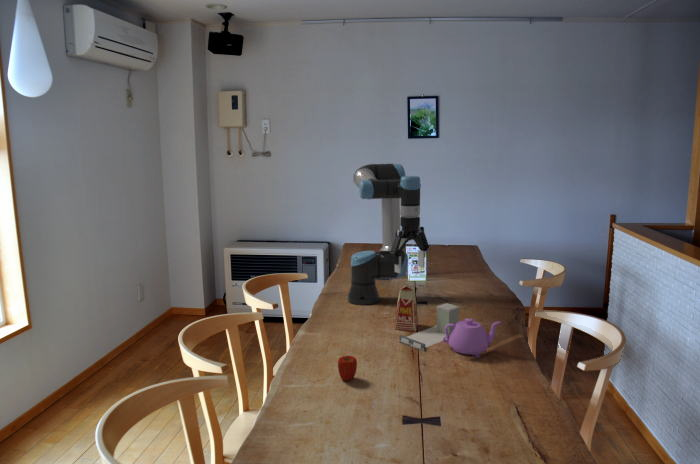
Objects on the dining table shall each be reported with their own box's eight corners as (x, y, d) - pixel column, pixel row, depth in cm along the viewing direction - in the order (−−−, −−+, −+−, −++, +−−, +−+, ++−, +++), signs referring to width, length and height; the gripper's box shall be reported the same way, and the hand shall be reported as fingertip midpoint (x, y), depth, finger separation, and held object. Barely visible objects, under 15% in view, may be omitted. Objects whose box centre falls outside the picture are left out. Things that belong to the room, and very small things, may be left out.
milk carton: (416, 334, 212) (417, 285, 209) (393, 332, 214) (393, 284, 211) (419, 326, 221) (419, 279, 218) (396, 324, 223) (397, 278, 220)
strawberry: (350, 385, 170) (350, 362, 168) (334, 380, 173) (333, 358, 172) (360, 377, 175) (360, 356, 174) (344, 373, 178) (344, 352, 177)
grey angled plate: (399, 342, 204) (399, 335, 204) (439, 327, 220) (439, 321, 219) (423, 351, 195) (423, 344, 195) (463, 335, 211) (464, 328, 211)
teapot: (497, 346, 199) (499, 314, 197) (500, 362, 186) (502, 328, 183) (443, 343, 203) (443, 311, 201) (442, 358, 189) (442, 324, 187)
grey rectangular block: (436, 331, 212) (436, 306, 210) (446, 327, 216) (446, 303, 214) (448, 335, 208) (449, 310, 206) (458, 331, 212) (459, 306, 210)
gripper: (394, 220, 197) (394, 276, 201) (438, 213, 214) (437, 265, 217) (380, 218, 203) (380, 273, 207) (424, 212, 219) (423, 262, 223)
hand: (409, 269), depth 212 cm, fingers open, 13 cm apart
